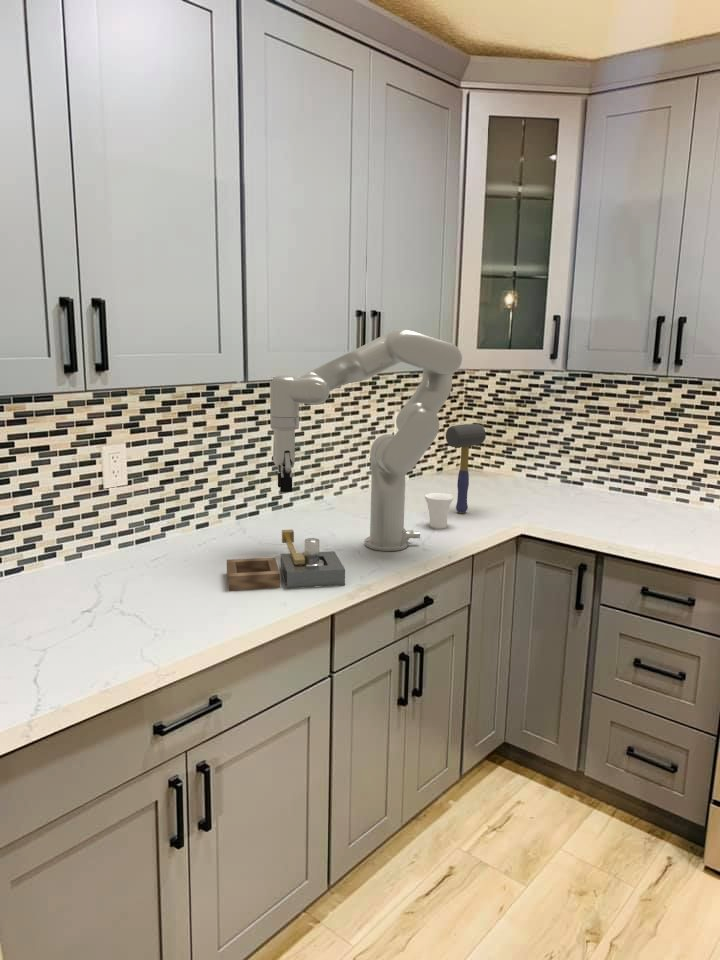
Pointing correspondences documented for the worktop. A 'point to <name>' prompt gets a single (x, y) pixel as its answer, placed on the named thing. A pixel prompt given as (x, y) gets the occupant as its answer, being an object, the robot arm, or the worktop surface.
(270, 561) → the frame
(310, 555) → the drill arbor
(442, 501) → the cup
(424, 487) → the worktop surface
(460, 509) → the rubber mallet
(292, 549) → the brass key
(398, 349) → the robot arm
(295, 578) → the spindle block
